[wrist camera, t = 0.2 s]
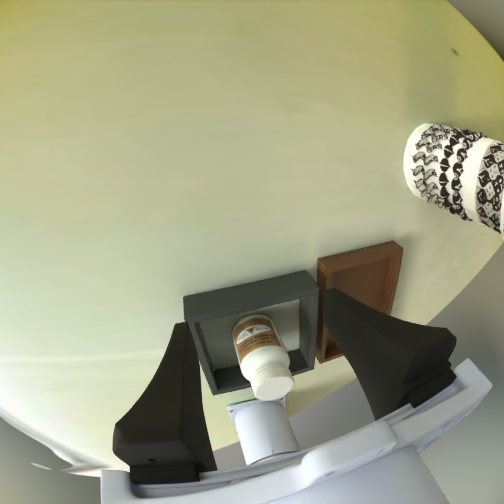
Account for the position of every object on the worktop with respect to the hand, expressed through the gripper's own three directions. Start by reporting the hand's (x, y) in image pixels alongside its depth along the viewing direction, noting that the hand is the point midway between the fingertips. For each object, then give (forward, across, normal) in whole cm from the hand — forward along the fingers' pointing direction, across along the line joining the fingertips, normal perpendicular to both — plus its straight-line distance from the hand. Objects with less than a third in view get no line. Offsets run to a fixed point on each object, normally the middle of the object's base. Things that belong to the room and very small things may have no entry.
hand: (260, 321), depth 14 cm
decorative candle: (+10, -22, -5) cm, 25 cm away
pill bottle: (+10, -1, +10) cm, 14 cm away
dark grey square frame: (+10, -1, +10) cm, 14 cm away
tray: (+10, -12, +10) cm, 19 cm away
